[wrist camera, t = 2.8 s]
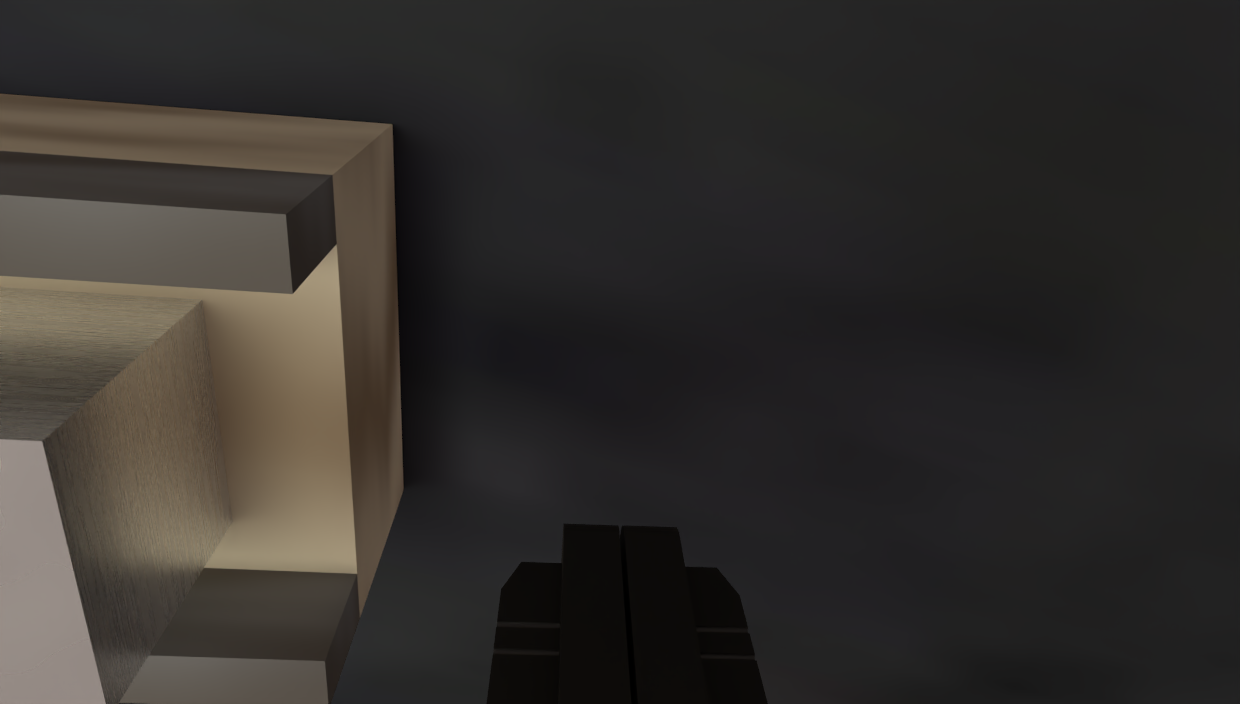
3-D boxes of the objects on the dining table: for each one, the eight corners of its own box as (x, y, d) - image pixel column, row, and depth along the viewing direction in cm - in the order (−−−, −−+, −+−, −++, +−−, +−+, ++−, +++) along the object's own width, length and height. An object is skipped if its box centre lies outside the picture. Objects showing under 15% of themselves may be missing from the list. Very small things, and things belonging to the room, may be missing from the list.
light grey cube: (-85, 281, 12) (-375, 420, 8) (202, 299, 12) (42, 440, 9) (-18, 511, 14) (-236, 708, 10) (232, 521, 14) (108, 718, 10)
